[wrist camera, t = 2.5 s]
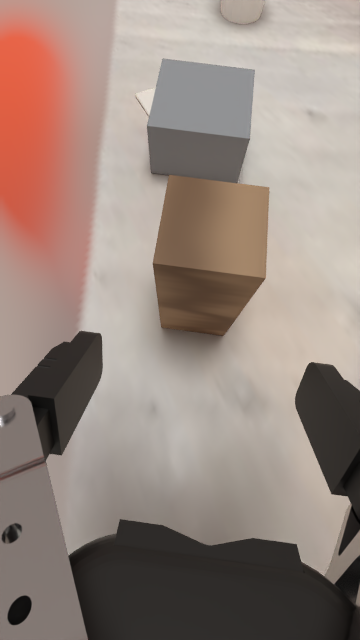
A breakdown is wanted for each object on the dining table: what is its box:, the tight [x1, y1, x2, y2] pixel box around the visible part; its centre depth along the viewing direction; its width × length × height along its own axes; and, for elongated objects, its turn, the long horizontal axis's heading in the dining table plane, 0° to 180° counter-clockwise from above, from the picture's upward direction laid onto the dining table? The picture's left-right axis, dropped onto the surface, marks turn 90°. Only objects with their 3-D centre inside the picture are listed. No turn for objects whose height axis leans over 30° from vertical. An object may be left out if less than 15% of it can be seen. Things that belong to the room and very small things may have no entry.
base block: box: [147, 59, 255, 183], centre depth 27 cm, size 9×9×5 cm
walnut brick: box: [153, 175, 269, 336], centre depth 19 cm, size 5×5×11 cm
